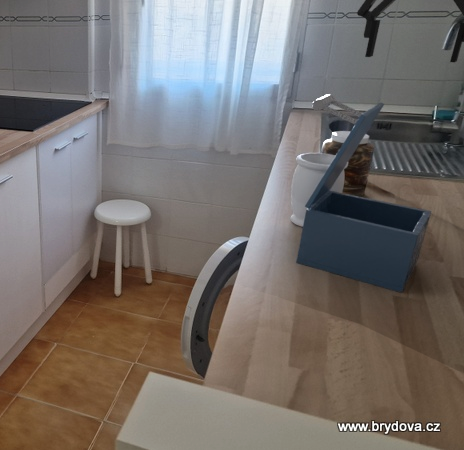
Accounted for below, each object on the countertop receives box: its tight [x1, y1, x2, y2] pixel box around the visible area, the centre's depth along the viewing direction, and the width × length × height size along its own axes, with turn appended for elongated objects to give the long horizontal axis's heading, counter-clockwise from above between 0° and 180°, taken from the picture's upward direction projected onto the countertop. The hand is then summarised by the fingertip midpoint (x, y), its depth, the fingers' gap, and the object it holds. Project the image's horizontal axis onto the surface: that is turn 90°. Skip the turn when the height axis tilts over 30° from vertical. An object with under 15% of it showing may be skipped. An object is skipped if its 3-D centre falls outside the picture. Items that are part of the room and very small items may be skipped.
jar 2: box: [320, 130, 375, 197], centre depth 139 cm, size 12×12×15 cm
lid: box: [305, 93, 385, 208], centre depth 101 cm, size 19×14×9 cm
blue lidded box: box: [295, 191, 432, 294], centre depth 102 cm, size 18×14×11 cm
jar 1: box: [290, 152, 348, 228], centre depth 120 cm, size 11×10×15 cm
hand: (409, 59), depth 100 cm, fingers open, 13 cm apart
